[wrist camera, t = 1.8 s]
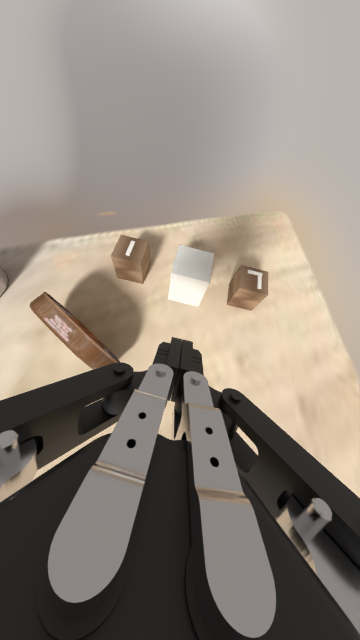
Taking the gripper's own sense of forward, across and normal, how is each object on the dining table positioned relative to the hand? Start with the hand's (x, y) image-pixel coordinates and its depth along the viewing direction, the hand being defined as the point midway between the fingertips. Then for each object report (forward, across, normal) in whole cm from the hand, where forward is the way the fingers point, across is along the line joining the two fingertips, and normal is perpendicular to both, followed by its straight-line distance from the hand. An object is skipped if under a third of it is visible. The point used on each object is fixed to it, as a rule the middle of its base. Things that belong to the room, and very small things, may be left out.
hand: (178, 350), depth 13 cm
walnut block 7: (+26, -11, 0) cm, 28 cm away
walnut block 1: (+26, +11, 0) cm, 28 cm away
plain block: (+25, 0, 0) cm, 25 cm away
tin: (+15, +14, +11) cm, 23 cm away
